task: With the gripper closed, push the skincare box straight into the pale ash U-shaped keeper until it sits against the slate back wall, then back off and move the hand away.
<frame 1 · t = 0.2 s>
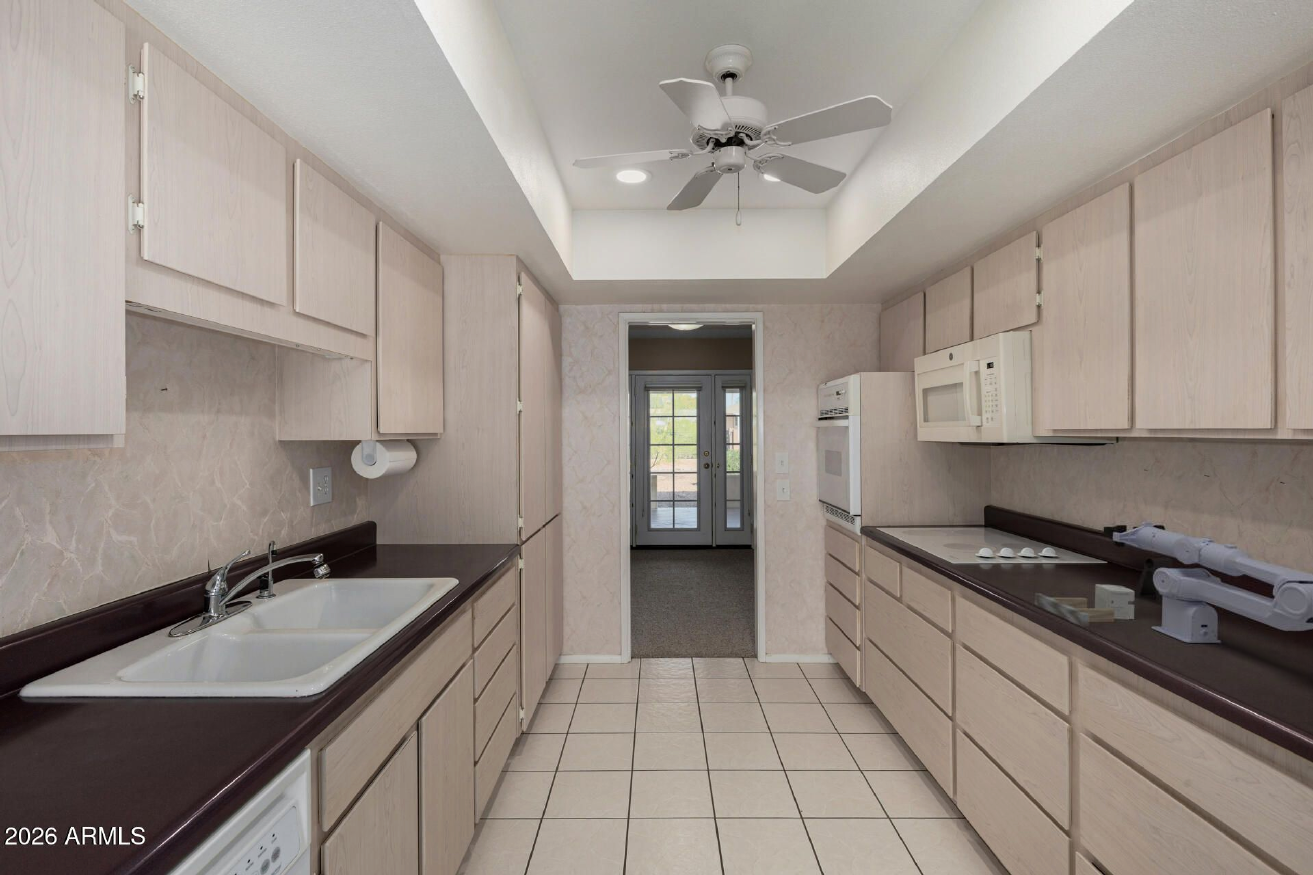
hand: (1119, 530, 154), 21 cm above the counter, tool horizontal, fingers open, 7 cm apart
door stopper: (1157, 600, 163), on the counter
keeper: (1078, 614, 150), on the counter
skincare box: (1114, 616, 150), on the counter
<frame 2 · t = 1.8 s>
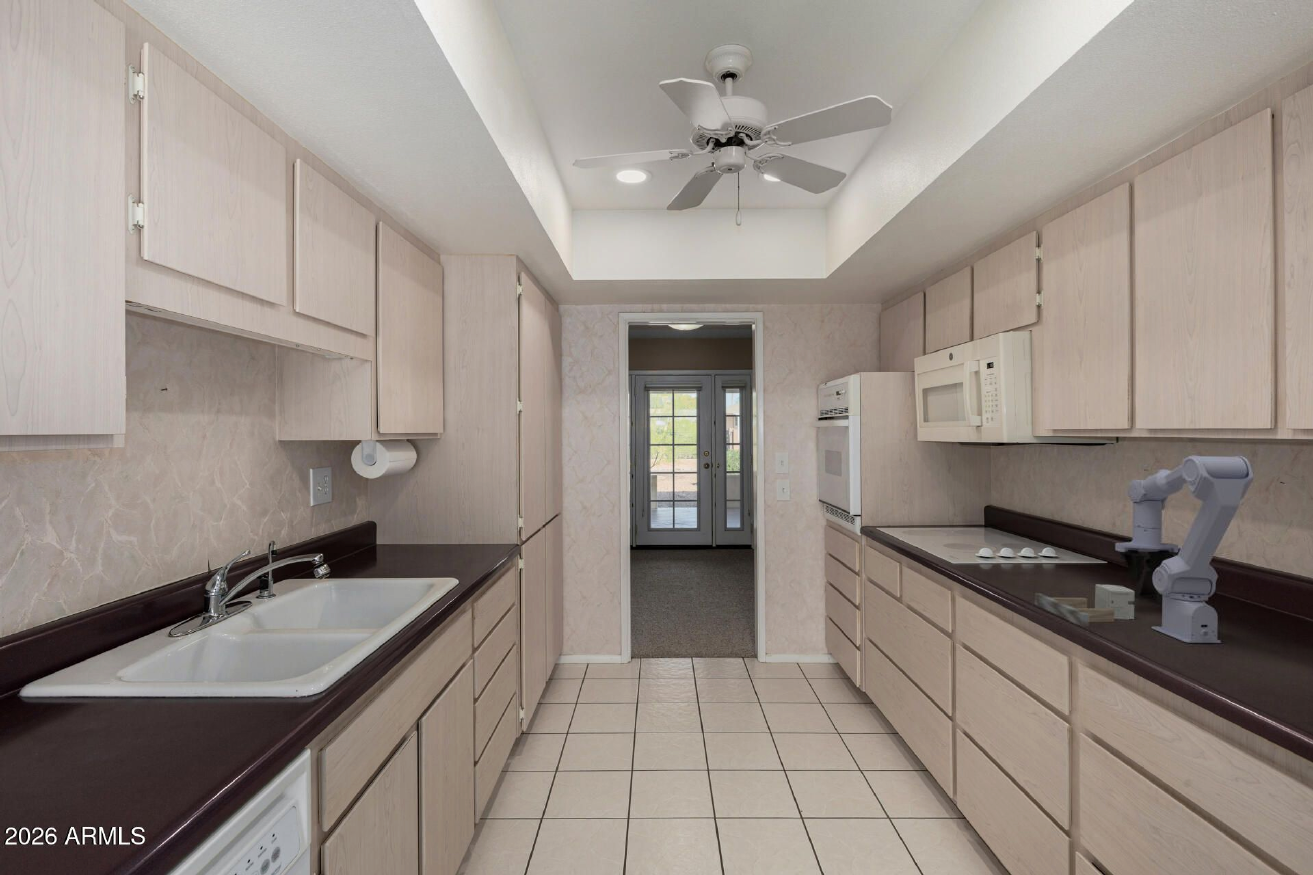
hand: (1145, 579, 149), 9 cm above the counter, tool pointing down, fingers open, 5 cm apart
nothing on the counter moved.
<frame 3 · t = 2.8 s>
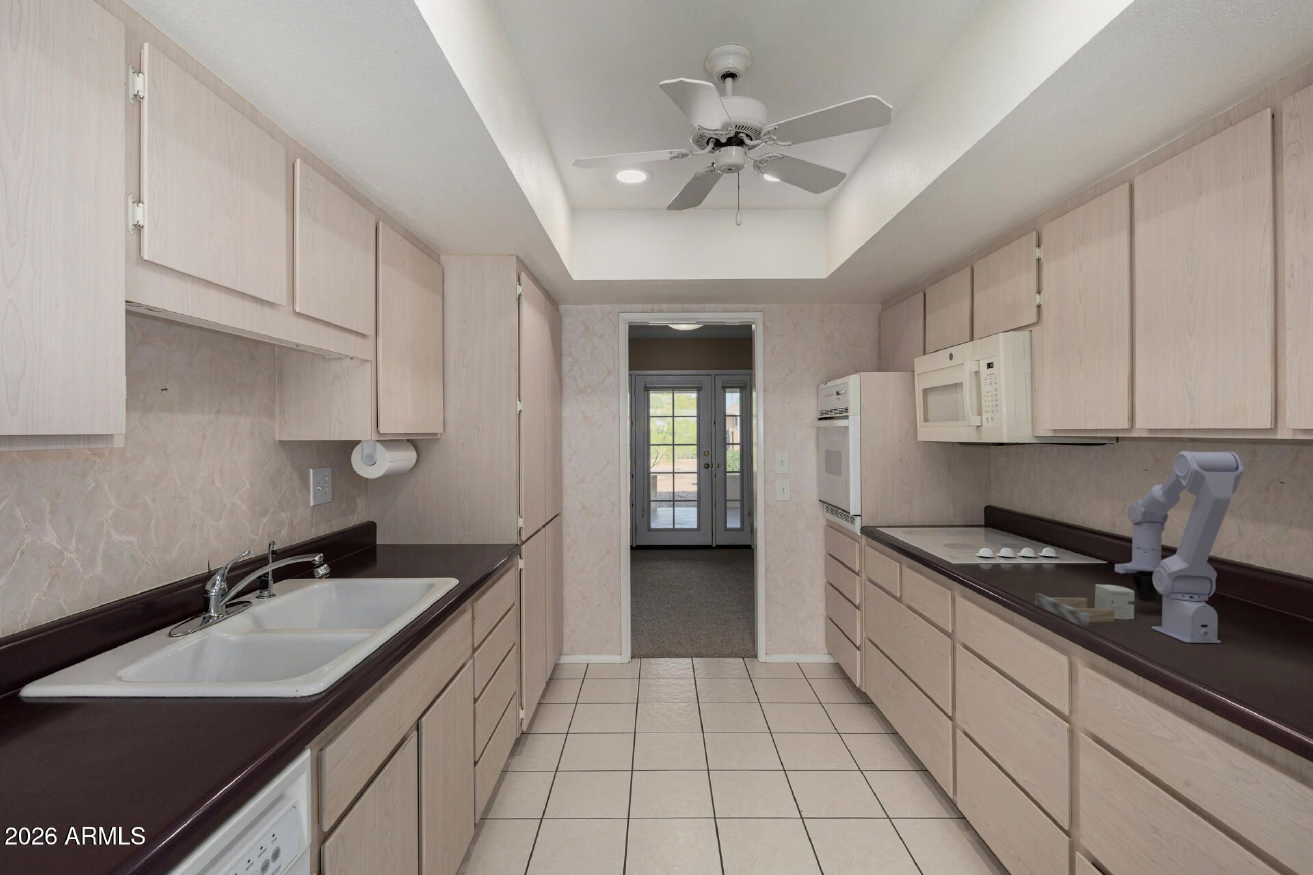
hand: (1145, 600, 149), 4 cm above the counter, tool pointing down, fingers closed
nothing on the counter moved.
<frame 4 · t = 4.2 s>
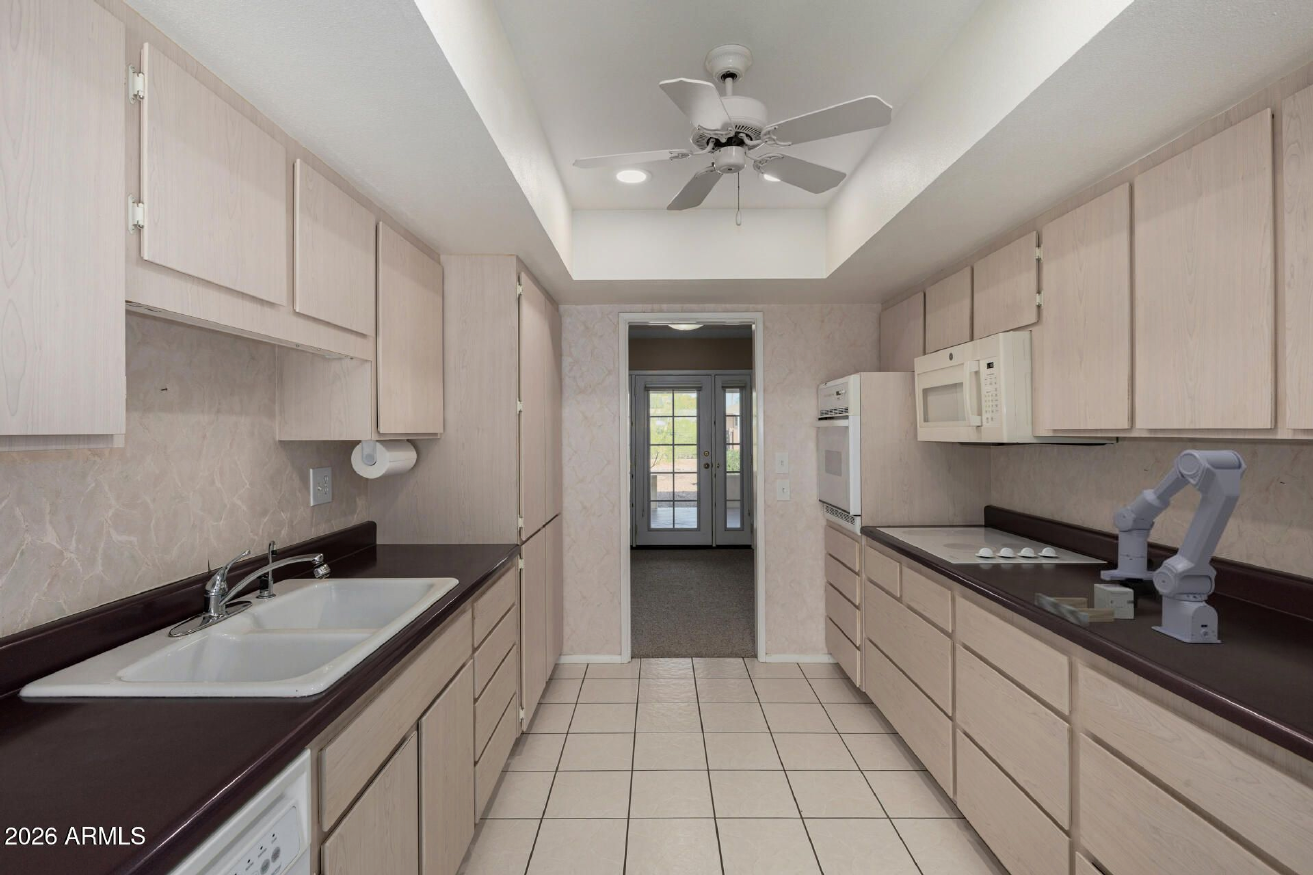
hand: (1131, 607, 150), 2 cm above the counter, tool pointing down, fingers closed, pressing on skincare box
skincare box: (1113, 615, 150), on the counter, touching gripper
everything else where it was.
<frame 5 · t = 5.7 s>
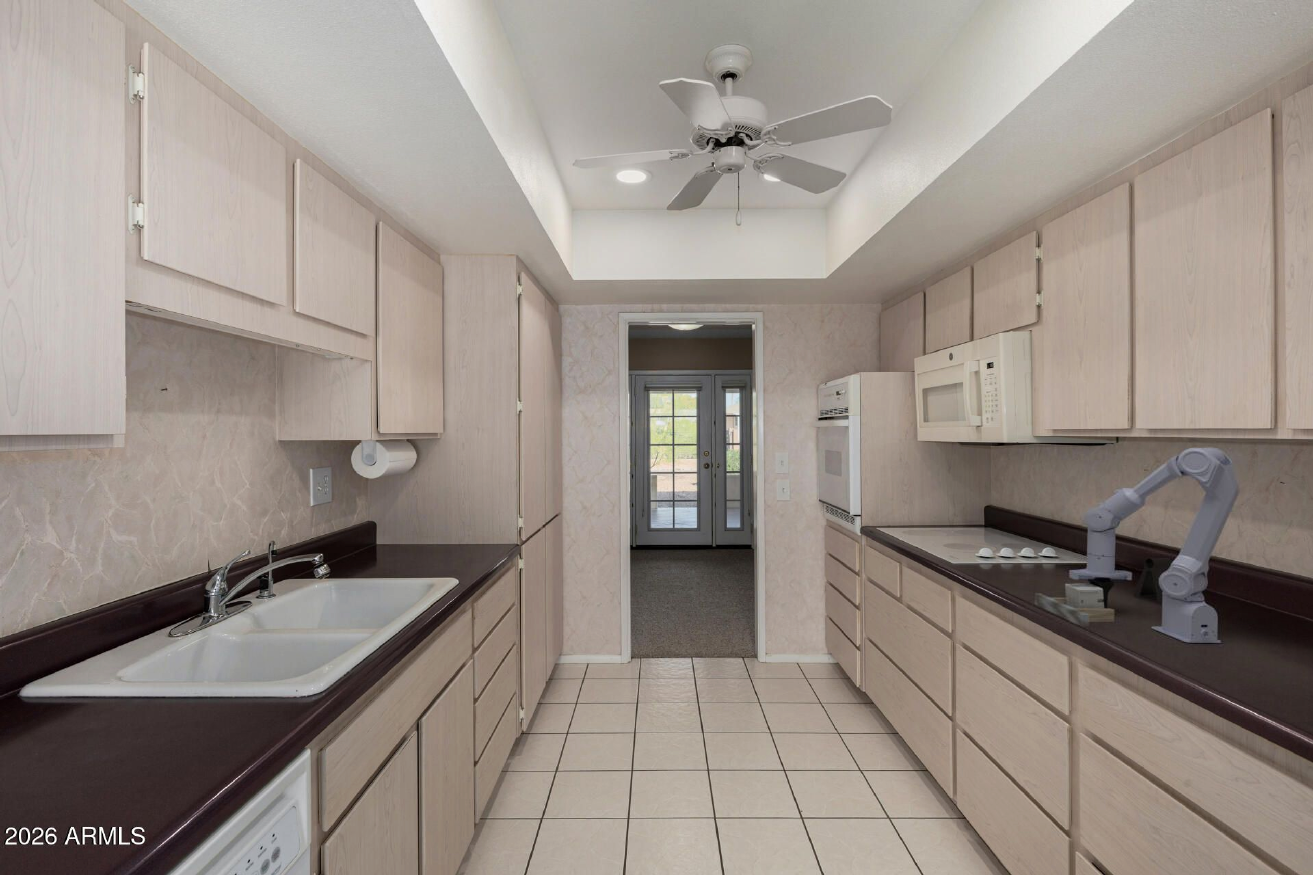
hand: (1099, 606, 150), 2 cm above the counter, tool pointing down, fingers closed, pressing on skincare box
skincare box: (1085, 615, 150), on the counter, touching gripper
everything else where it was.
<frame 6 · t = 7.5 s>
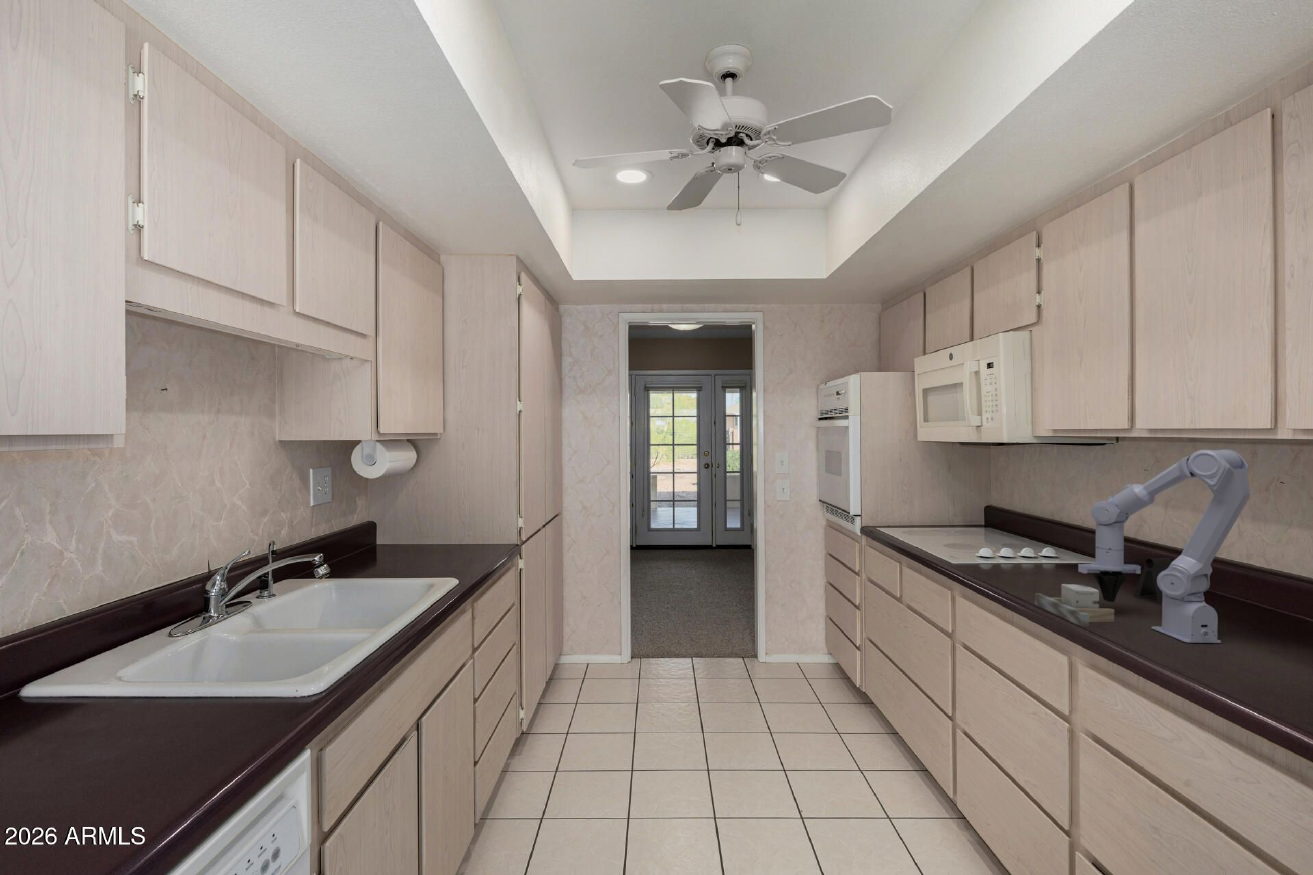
hand: (1109, 600, 149), 4 cm above the counter, tool pointing down, fingers closed
skincare box: (1079, 616, 150), on the counter
everything else where it was.
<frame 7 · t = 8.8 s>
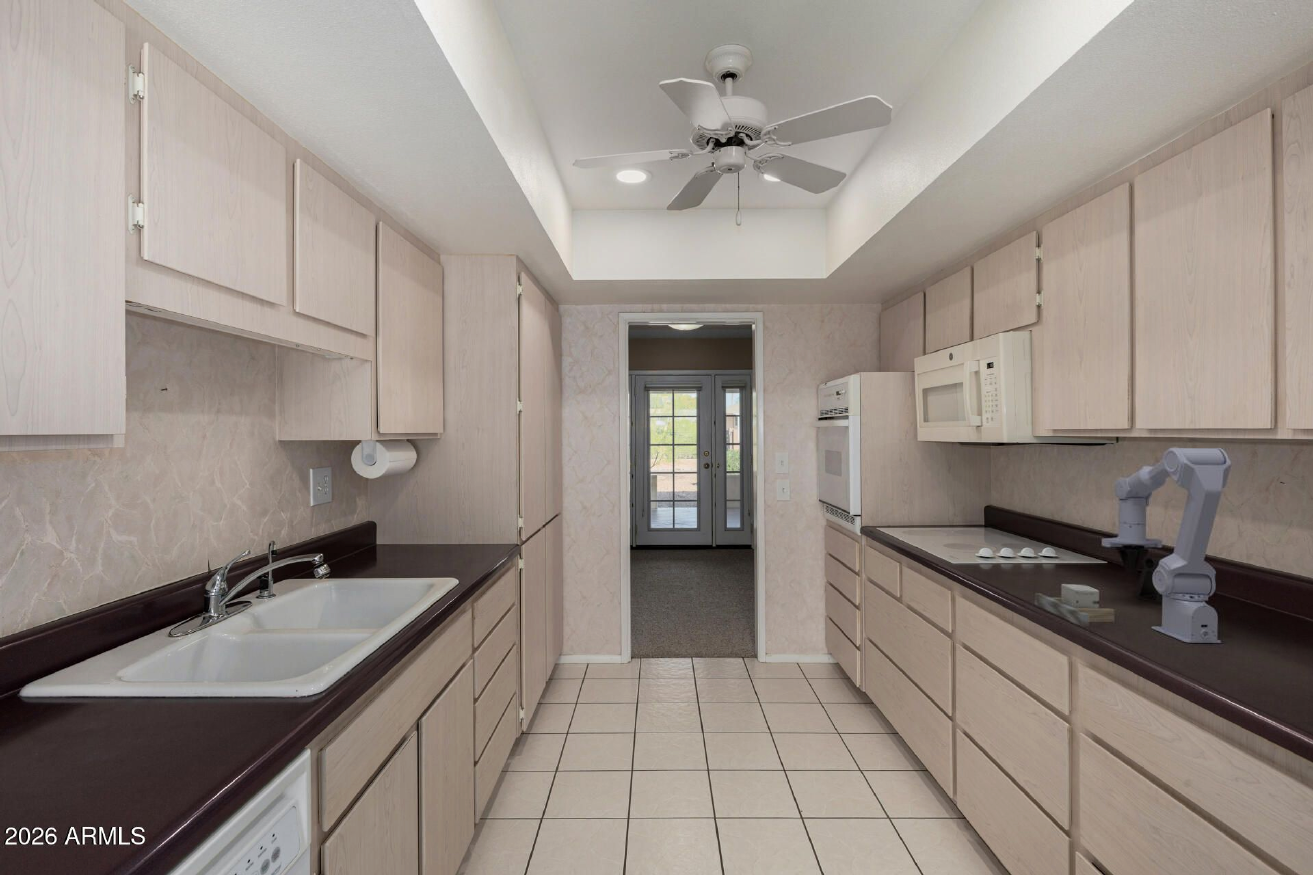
hand: (1131, 573, 155), 9 cm above the counter, tool pointing down, fingers closed
nothing on the counter moved.
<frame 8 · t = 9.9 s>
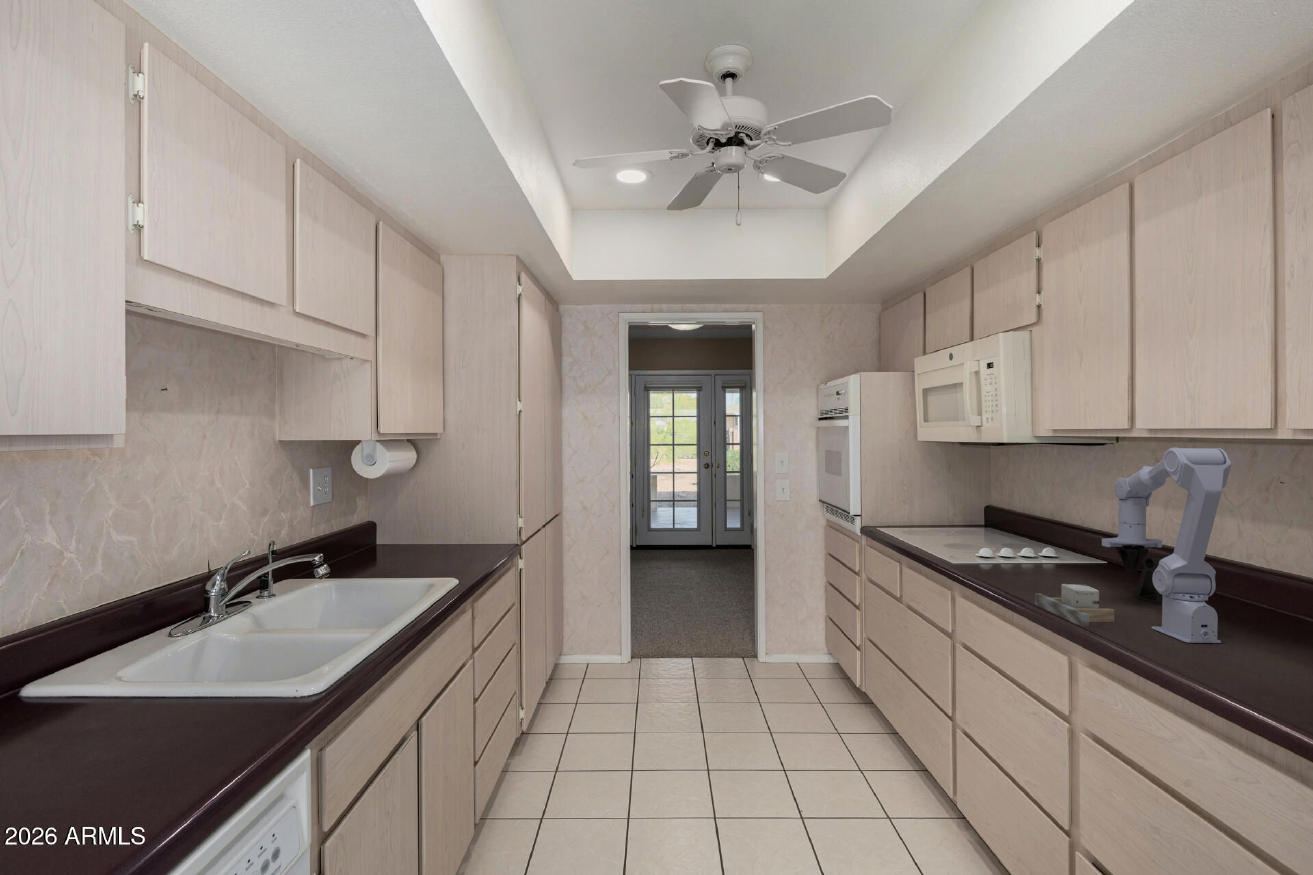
hand: (1131, 573, 155), 9 cm above the counter, tool pointing down, fingers closed
nothing on the counter moved.
at the end: skincare box 1.5 cm from the target spot on the keeper, point 0.0 cm above the keeper's base; skincare box tilted 0° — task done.
